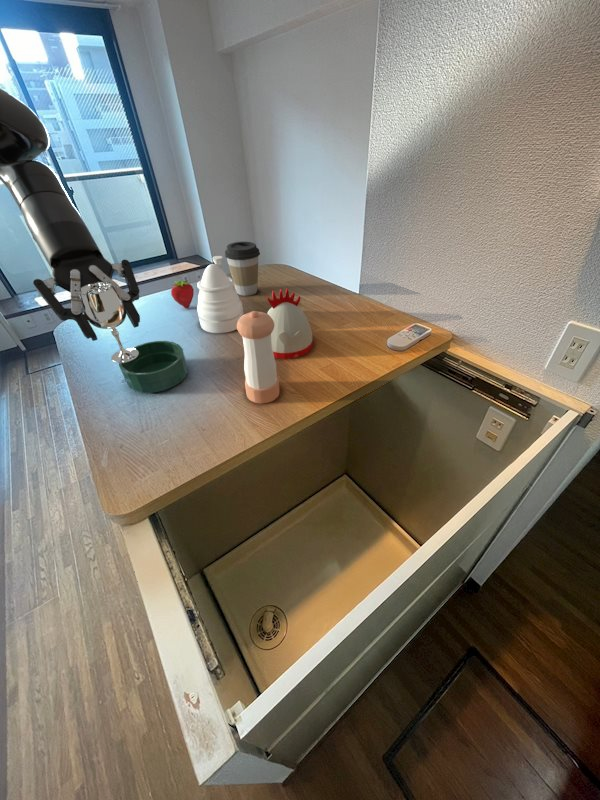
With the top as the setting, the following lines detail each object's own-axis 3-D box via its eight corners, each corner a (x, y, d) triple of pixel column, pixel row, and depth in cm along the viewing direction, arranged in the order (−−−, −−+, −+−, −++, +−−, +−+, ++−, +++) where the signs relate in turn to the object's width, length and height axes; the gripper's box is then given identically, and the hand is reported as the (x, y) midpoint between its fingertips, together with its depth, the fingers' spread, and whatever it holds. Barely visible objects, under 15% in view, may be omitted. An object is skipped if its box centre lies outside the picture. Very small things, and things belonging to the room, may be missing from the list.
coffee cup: (268, 287, 115) (265, 242, 105) (253, 300, 107) (248, 253, 97) (240, 283, 118) (235, 239, 109) (224, 295, 111) (216, 248, 101)
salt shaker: (248, 406, 68) (235, 323, 56) (244, 385, 74) (232, 305, 61) (282, 400, 70) (277, 318, 57) (276, 380, 75) (270, 301, 62)
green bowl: (118, 395, 71) (108, 375, 68) (139, 360, 82) (132, 341, 78) (180, 394, 72) (173, 374, 68) (194, 359, 82) (189, 340, 78)
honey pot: (228, 308, 103) (218, 248, 91) (253, 322, 96) (245, 258, 84) (192, 322, 96) (176, 259, 85) (216, 338, 89) (202, 271, 78)
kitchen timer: (256, 334, 91) (250, 281, 81) (304, 328, 93) (304, 275, 83) (265, 362, 80) (259, 305, 71) (318, 354, 83) (320, 297, 73)
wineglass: (99, 362, 55) (64, 294, 47) (122, 344, 59) (94, 279, 51) (127, 367, 54) (96, 298, 46) (149, 349, 58) (124, 283, 50)
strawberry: (171, 311, 102) (162, 279, 96) (187, 301, 107) (179, 271, 101) (186, 314, 100) (177, 282, 94) (201, 305, 105) (194, 273, 99)
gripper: (-2, 228, 44) (61, 339, 45) (109, 211, 51) (162, 308, 52) (15, 258, 51) (70, 355, 52) (111, 240, 57) (158, 325, 58)
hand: (116, 331), depth 52 cm, fingers closed on wineglass, 6 cm apart
